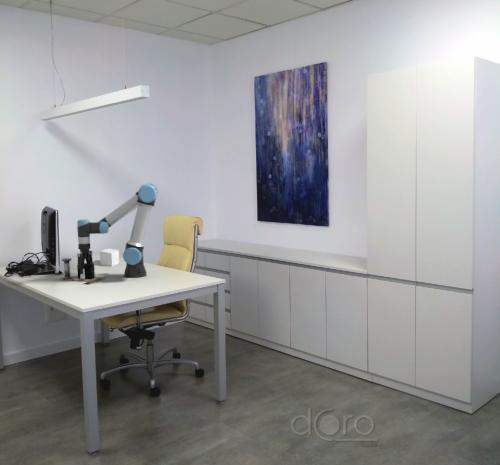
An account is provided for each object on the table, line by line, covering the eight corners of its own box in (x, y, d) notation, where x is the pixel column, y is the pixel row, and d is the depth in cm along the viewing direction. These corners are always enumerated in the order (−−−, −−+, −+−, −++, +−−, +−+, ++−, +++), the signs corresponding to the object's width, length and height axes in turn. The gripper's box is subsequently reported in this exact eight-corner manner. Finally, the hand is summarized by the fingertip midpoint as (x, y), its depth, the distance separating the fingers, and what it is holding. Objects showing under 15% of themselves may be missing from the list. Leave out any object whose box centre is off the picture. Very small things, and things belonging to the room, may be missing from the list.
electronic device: (91, 279, 352) (91, 264, 351) (77, 279, 354) (77, 264, 353) (94, 278, 356) (94, 263, 355) (81, 277, 358) (80, 263, 357)
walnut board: (103, 279, 360) (102, 277, 360) (90, 284, 346) (90, 281, 346) (68, 278, 368) (67, 275, 367) (54, 282, 353) (54, 279, 353)
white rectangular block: (117, 260, 440) (116, 247, 438) (121, 265, 413) (121, 252, 411) (98, 261, 435) (98, 248, 433) (102, 267, 408) (101, 253, 406)
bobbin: (74, 277, 361) (73, 258, 359) (68, 279, 355) (67, 259, 354) (66, 277, 363) (65, 258, 361) (61, 279, 357) (59, 259, 355)
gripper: (87, 241, 363) (89, 274, 365) (70, 245, 344) (72, 280, 346) (97, 241, 361) (99, 275, 363) (80, 245, 342) (82, 280, 344)
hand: (86, 277), depth 355 cm, fingers open, 7 cm apart
